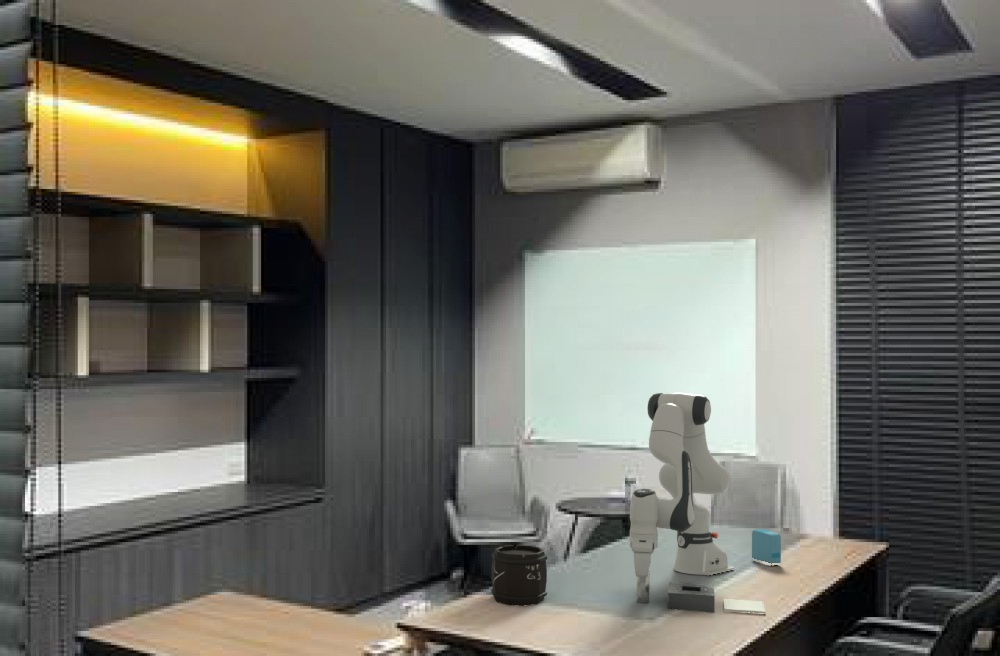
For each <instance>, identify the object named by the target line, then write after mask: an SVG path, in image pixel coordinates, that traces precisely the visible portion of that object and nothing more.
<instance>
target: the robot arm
mask: <svg viewBox="0 0 1000 656" xmlns="http://www.w3.org/2000/svg"><path fill="white" fill-rule="evenodd" d="M711 413H712V405H711V402H710V399H709V398H708V397H707V396H705V395H702V394H693V393H687V392H671V393H670V392H669V393H663V392H659V393H658V392H657V393H654V394H652V395H651V396H650V398H648V402H647V414H648V418H649V419H650V420H651V421H652V422H651V427H650V432H649V437H648V447H649V448H648V449H649V451H650V453H651V455H652V456H653V457H654V458H655V459H656V460H658V461H659V462H661V463H663V465H662V466H661V467H660V469H659V472H658V473H659V474H658V479H659V483H660V485H661V486H662V488H663V489H664V490H665V491H667V492H668V494H669V495H670V496H671V497H672V498H667V497H666V498H665V497H658V495H657V492H656V491H655V490H653V489H651V488H640V489H636V490H633V492H632V494H631V498H630V505H629V506H630V507H629V520H630V529H629V547H630V549H631V551H632V552H633V562H634V572H635V573H634V574H635V576H636V578H637V577H639V580H640V587H641V588H645V587H646V577H647V576H648V571H649V570H650V566H651V563H652V561H651V560H652V559H651V558H652V557H651V556H652V554H653V553H654V552H655V549H657V548H659V545H658V543H659V542H658V540H659V538H658V537H659V535H658V533H659V532H658V528H659V529H667V530H671V531H677V532H676V542H677V548H676V550H677V551H676V554H675V555H676V556H675V562H674V566H673V568H672V569H673V570H674V571H675V572H678V573H681V574H682V573H683V574H688V575H702V576H709V575H711V576H714V575H713V574H716V575H718V574H717V573H720V574H722V573H721V572H724V573H726V572H725V571H728V570H732V569H734V570H735V567H734V566H733V565H731V564H729V562H728V555H727V554H726V551H725V550H724V549H722V548H721V547H719V545H717V543H715V542H714V539H718V538H719V534H718V532H711V531H710V511H709V509H708V508H707V507H706V506H705V505H704V504H702V503H701V502H699V501H698V500H697V499H696V498H695V496H694V494H702V495H720V494H724V493H725V492H727V490H728V489H729V487H730V484H731V477H730V473H729V472H728V469H727V468H726V467H725V466H723V465H721V464H720V463H719V462H718V461H717V460H716V459H715V458H714V456H712V453H711V452H710V449H709V448H708V442H707V438H706V437H707V435H706V427H705V424H706V423H707V422H709V420H710V417H711V415H712V414H711Z"/></svg>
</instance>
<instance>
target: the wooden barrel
mask: <svg viewBox="0 0 1000 656" xmlns="http://www.w3.org/2000/svg"><path fill="white" fill-rule="evenodd" d="M491 558H492V561H491V562H492V563H491V570H490V573H491V589H490V592H491V594H492V595H493V599H494V600H495V602H496V603H498V604H502V605H506V606H514V605H519V606H520V607H525V606H524V605H528V606H532V605H531V604H535V605H538V603H539V602H540V603H542V602H543V601H544V600H545V597H547V594H548V592H547V591H546V589H547V581H548V580H547V578H548V575H547V574H548V573H547V572H548V569H547V568H548V567H547V560H548V556H547V554H546V553H545V551H544V550H543V549H542V547H540V546H535V545H528V544H516V545H515V546H514V544H509V545H503V546H499V547H495V548H494V551H493V552H492V553H491ZM541 601H542V602H541ZM540 603H539V604H540ZM519 606H518V607H519Z"/></svg>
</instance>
